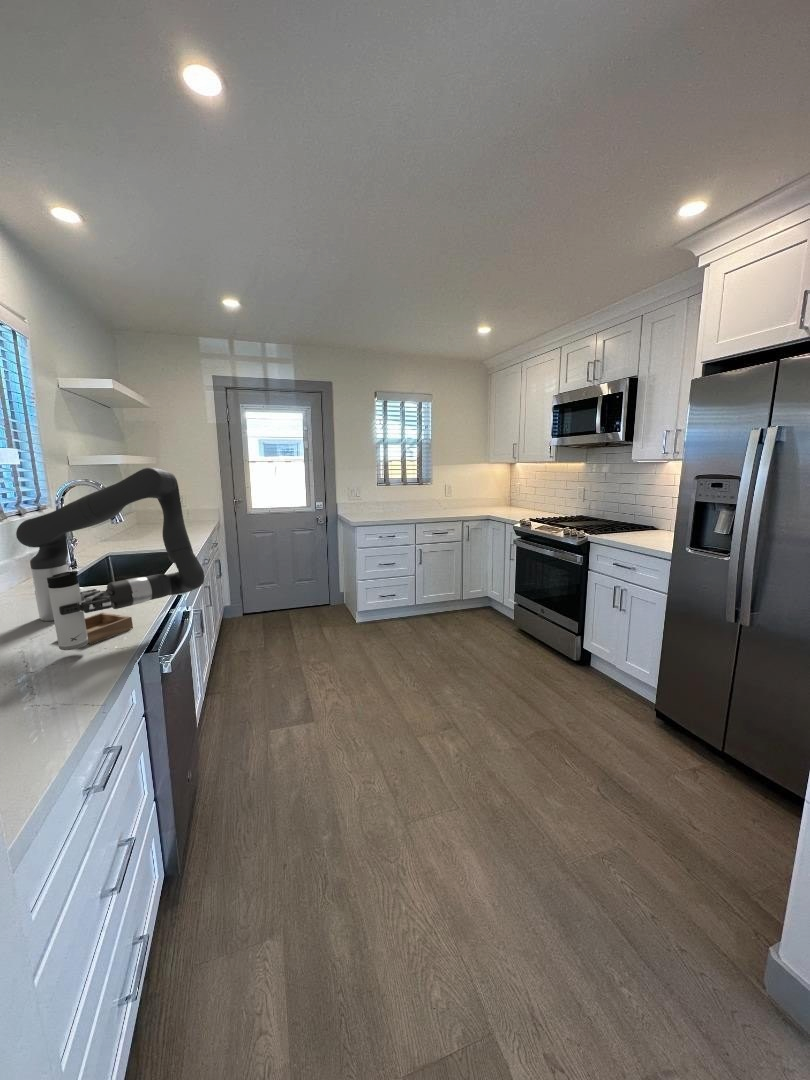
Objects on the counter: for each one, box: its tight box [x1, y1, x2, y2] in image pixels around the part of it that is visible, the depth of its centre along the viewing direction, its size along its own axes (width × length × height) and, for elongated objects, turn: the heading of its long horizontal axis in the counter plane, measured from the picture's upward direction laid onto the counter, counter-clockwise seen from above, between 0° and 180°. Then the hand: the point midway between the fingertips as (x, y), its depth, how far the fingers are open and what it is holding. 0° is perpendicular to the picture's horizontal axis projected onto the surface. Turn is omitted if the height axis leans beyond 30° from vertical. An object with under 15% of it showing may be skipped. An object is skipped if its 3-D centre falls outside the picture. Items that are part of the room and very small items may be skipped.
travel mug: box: [47, 570, 88, 651], centre depth 115 cm, size 6×7×20 cm
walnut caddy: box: [84, 612, 134, 646], centre depth 131 cm, size 13×13×4 cm
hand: (56, 608), depth 113 cm, fingers closed on travel mug, 6 cm apart
